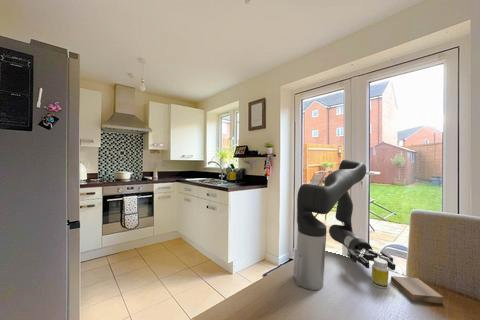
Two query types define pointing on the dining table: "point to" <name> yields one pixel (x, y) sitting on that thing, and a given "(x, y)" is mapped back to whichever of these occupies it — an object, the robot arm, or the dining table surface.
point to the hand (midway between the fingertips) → (381, 266)
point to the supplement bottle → (379, 273)
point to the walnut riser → (416, 290)
